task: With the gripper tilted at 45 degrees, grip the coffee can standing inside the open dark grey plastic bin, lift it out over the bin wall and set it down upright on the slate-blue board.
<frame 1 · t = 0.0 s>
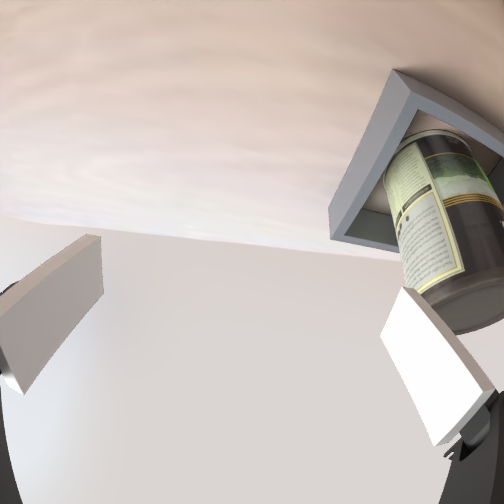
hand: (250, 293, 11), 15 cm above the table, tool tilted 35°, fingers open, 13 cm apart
coffee can: (429, 171, 22), resting in bin
bin: (429, 173, 22), on the table
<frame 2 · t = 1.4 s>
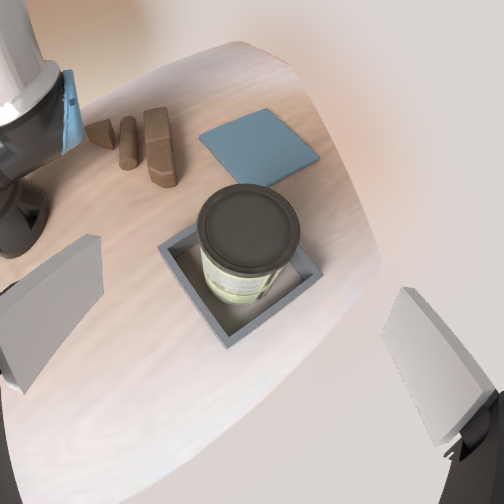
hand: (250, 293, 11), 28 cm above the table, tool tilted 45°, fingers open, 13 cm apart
wooden block set: (129, 160, 47), on the table
coffee can: (238, 271, 41), resting in bin
board: (259, 148, 50), on the table
bin: (238, 271, 41), on the table
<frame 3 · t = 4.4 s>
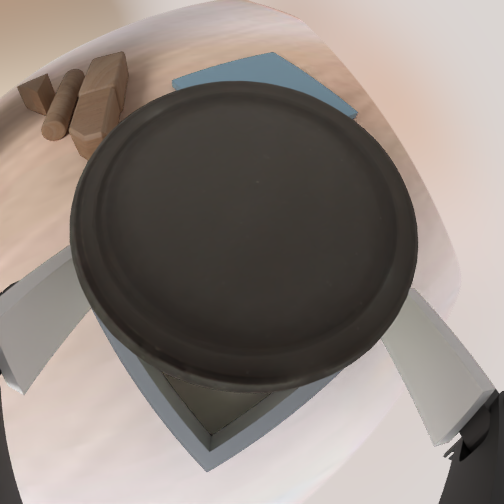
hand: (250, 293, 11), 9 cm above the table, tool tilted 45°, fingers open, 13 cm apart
wooden block set: (62, 127, 26), on the table
coffee can: (230, 302, 20), resting in bin
board: (264, 96, 30), on the table
bin: (230, 302, 20), on the table
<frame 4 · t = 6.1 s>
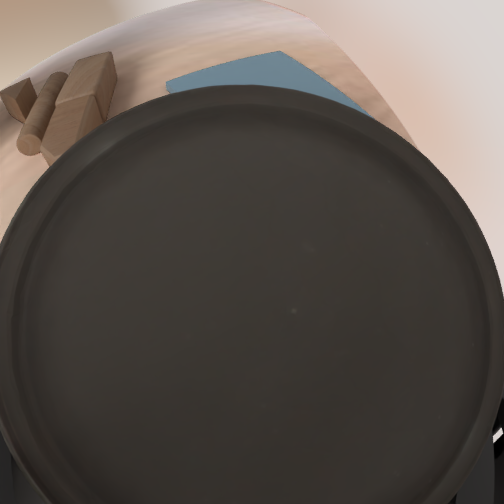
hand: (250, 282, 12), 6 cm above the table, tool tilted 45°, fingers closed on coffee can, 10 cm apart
wooden block set: (42, 139, 22), on the table
coffee can: (233, 357, 17), resting in bin, touching gripper
board: (272, 101, 26), on the table
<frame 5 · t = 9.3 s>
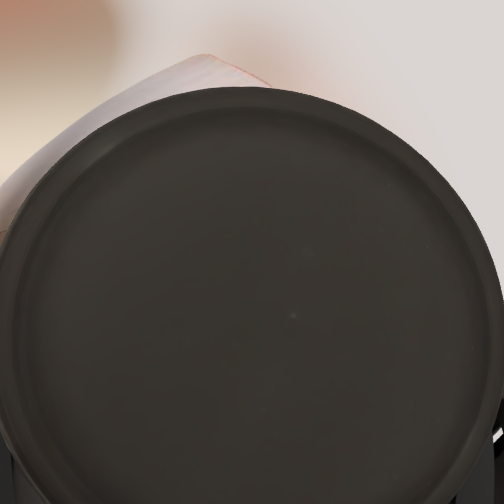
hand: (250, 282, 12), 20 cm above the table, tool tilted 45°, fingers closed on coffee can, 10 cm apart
coffee can: (233, 358, 17), point 14 cm above the table, touching gripper
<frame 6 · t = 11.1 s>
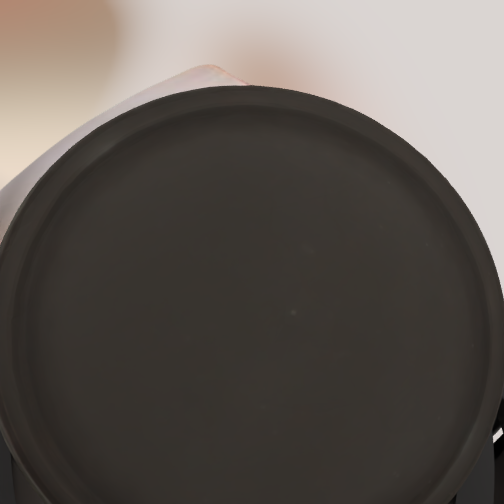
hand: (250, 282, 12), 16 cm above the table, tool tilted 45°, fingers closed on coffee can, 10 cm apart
coffee can: (233, 357, 17), point 10 cm above the table, touching gripper
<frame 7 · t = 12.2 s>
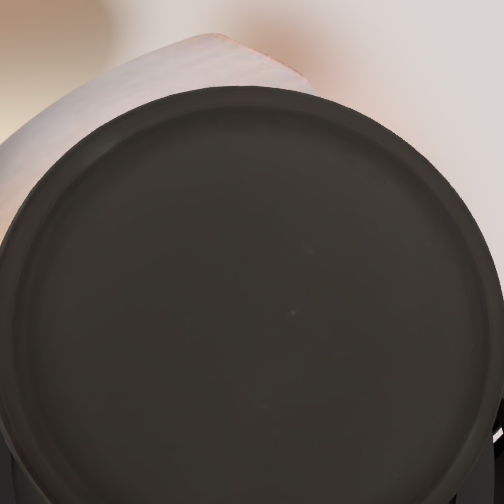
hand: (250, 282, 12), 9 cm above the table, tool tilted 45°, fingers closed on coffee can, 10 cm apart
coffee can: (233, 357, 17), point 2 cm above the table, touching gripper
when the fingers open (7 cm above the table, at t = 13.1 s): coffee can stays where it is, resting on board.
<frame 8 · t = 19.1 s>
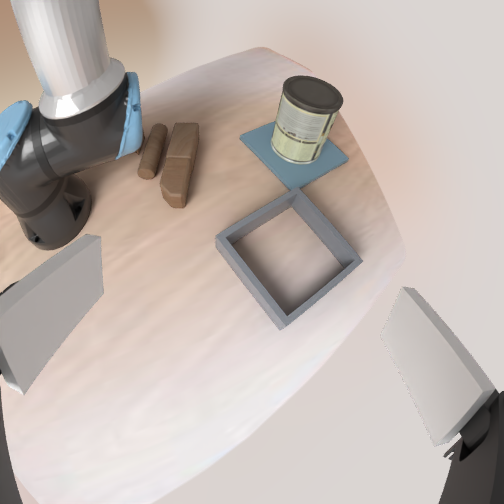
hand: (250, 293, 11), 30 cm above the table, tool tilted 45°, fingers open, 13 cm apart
wooden block set: (150, 168, 49), on the table
coffee can: (295, 146, 54), point 1 cm above the table, touching board
board: (295, 149, 54), on the table
bin: (287, 259, 45), on the table
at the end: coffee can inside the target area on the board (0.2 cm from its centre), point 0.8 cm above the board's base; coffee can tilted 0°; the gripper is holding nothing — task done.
